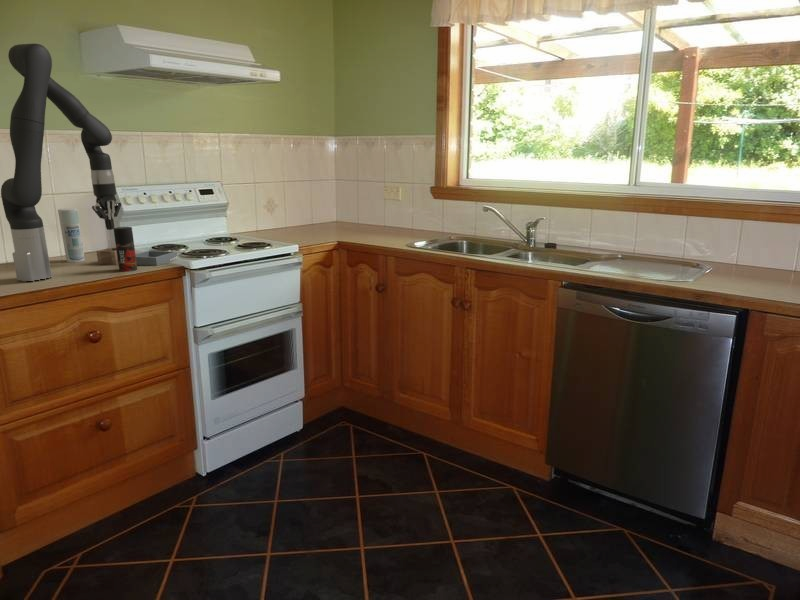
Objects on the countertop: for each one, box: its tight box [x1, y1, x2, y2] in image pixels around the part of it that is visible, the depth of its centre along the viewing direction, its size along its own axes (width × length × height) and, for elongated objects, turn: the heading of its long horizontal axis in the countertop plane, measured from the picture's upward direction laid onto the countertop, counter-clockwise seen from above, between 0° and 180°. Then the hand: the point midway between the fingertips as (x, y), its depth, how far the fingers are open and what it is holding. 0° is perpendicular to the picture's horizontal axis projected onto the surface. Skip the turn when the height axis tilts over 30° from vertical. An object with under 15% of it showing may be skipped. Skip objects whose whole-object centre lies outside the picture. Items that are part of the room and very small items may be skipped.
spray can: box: [57, 207, 86, 263], centre depth 226 cm, size 6×6×20 cm
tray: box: [135, 250, 178, 267], centre depth 224 cm, size 13×13×3 cm
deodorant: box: [112, 226, 138, 273], centre depth 208 cm, size 6×6×15 cm
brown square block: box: [96, 246, 119, 266], centre depth 223 cm, size 8×8×5 cm
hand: (110, 229), depth 221 cm, fingers closed
